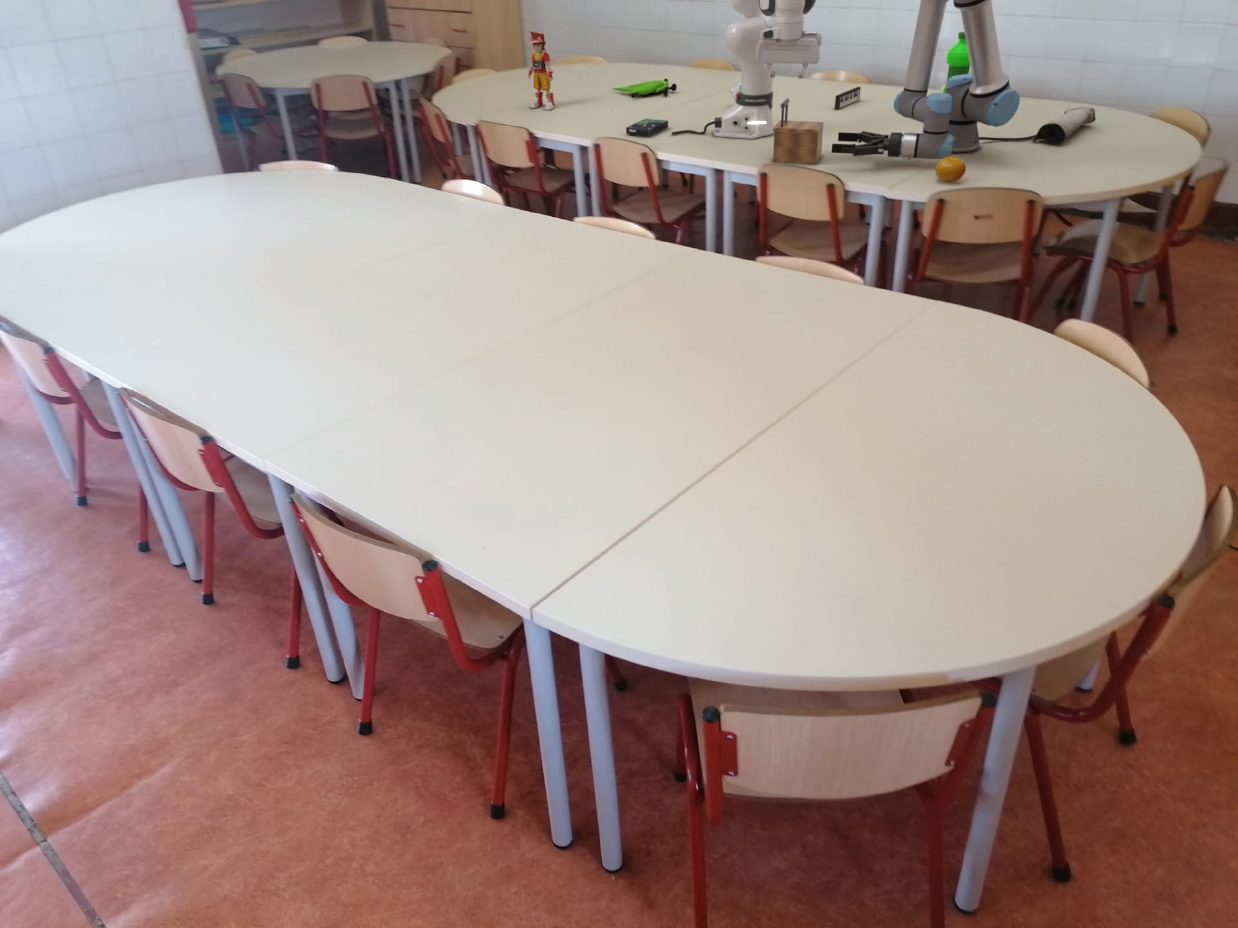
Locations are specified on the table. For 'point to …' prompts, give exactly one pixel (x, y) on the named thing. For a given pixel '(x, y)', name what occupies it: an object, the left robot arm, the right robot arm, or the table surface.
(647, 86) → the toy
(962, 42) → the plastic bottle
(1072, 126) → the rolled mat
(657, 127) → the disk drive
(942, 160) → the fruit
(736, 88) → the anatomical model
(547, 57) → the toy
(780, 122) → the lid
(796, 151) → the chest
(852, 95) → the midi keyboard
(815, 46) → the left robot arm
